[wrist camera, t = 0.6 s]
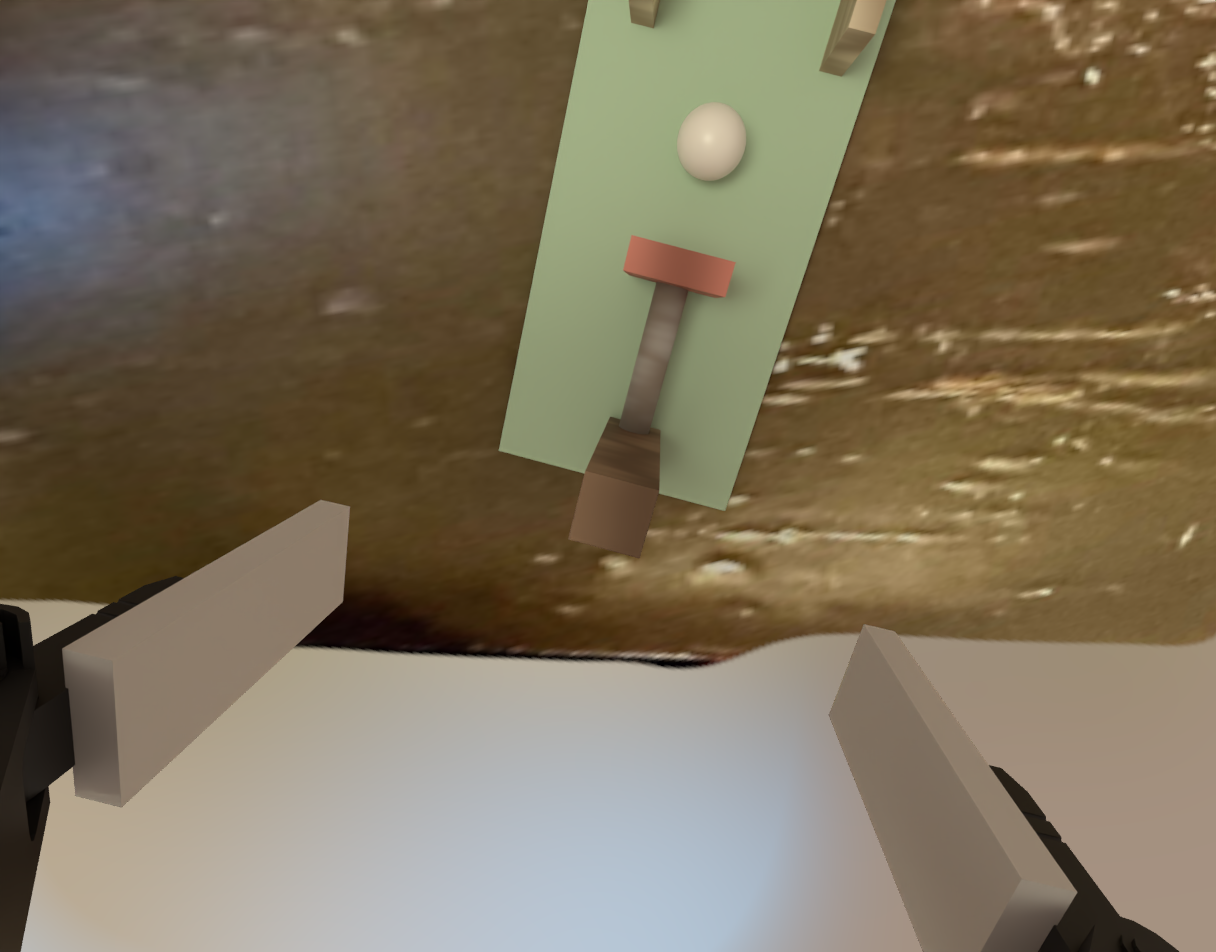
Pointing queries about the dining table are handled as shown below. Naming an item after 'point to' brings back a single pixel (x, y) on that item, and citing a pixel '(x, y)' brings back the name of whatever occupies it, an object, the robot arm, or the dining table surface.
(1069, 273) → the dining table surface
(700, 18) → the mat
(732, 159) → the ball
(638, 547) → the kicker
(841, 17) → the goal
